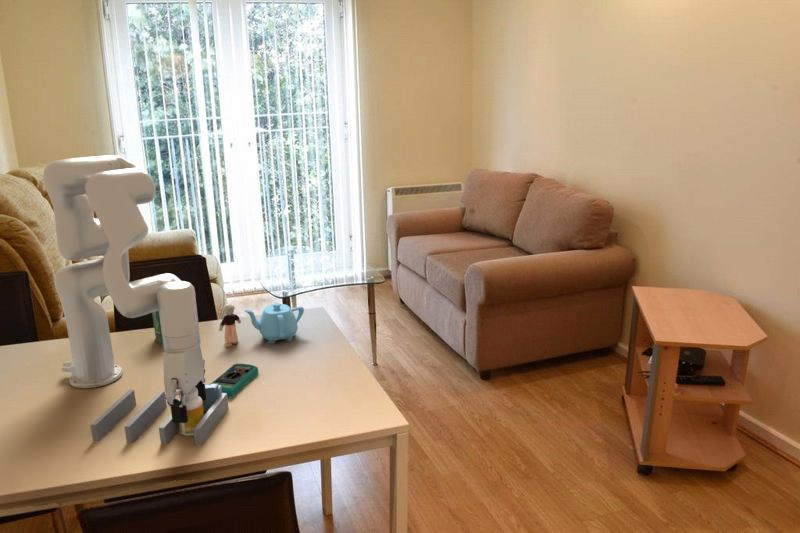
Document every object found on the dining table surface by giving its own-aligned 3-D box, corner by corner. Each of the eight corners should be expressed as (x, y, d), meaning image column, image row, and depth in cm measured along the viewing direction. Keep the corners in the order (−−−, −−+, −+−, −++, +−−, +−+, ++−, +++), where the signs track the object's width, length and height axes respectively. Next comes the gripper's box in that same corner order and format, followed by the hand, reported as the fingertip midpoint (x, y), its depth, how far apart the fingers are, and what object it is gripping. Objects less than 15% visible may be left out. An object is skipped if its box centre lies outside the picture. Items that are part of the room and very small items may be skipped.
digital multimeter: (260, 373, 162) (259, 363, 162) (231, 400, 148) (230, 389, 148) (235, 371, 164) (234, 361, 163) (205, 396, 150) (204, 386, 150)
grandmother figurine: (229, 349, 177) (224, 308, 174) (218, 346, 179) (214, 306, 175) (246, 339, 184) (242, 300, 180) (236, 337, 185) (232, 298, 182)
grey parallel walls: (93, 441, 131) (88, 413, 129) (131, 404, 146) (127, 379, 144) (200, 446, 128) (197, 417, 127) (228, 408, 144) (225, 382, 142)
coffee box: (154, 338, 186) (149, 298, 182) (164, 336, 187) (159, 296, 184) (160, 346, 179) (155, 305, 176) (170, 344, 181) (165, 303, 177)
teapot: (307, 335, 187) (306, 301, 185) (277, 350, 175) (276, 313, 173) (276, 329, 193) (274, 295, 191) (245, 343, 181) (242, 307, 179)
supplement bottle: (210, 426, 136) (206, 387, 133) (193, 438, 131) (188, 398, 129) (192, 421, 138) (187, 383, 135) (174, 433, 133) (169, 393, 131)
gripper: (182, 323, 137) (190, 391, 142) (144, 355, 121) (155, 431, 125) (214, 324, 136) (221, 392, 141) (180, 356, 120) (189, 432, 125)
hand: (190, 410), depth 133 cm, fingers open, 9 cm apart
